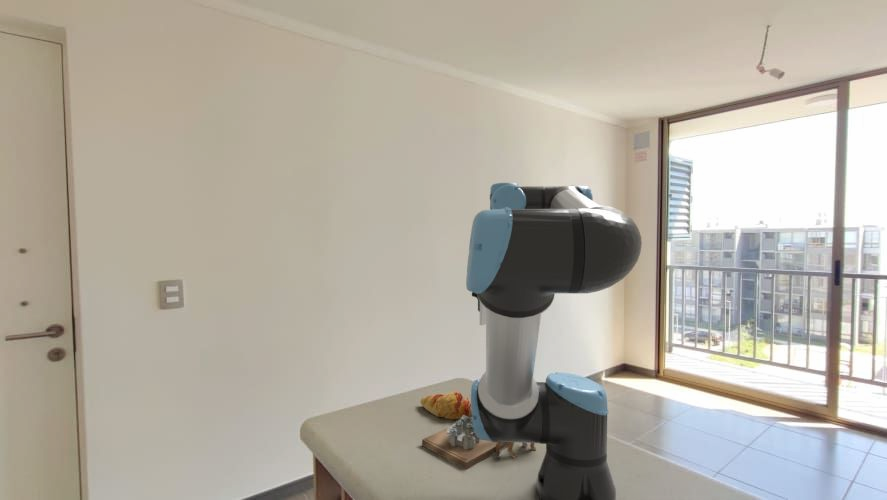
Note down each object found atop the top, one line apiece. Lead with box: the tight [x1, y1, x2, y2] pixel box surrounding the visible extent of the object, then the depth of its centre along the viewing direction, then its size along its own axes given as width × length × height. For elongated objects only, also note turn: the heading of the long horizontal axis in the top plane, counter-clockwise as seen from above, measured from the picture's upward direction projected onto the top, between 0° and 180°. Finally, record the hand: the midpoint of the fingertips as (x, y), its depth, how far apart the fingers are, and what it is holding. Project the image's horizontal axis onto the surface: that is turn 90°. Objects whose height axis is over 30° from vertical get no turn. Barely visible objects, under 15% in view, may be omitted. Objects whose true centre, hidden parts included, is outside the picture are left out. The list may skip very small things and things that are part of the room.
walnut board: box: [421, 427, 508, 470], centre depth 104 cm, size 15×18×2 cm
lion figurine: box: [495, 442, 537, 458], centre depth 101 cm, size 15×5×9 cm, turn 126°
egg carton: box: [447, 415, 480, 450], centre depth 103 cm, size 11×8×4 cm
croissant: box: [420, 390, 472, 420], centre depth 122 cm, size 21×10×8 cm, turn 61°
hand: (504, 328), depth 105 cm, fingers open, 13 cm apart
